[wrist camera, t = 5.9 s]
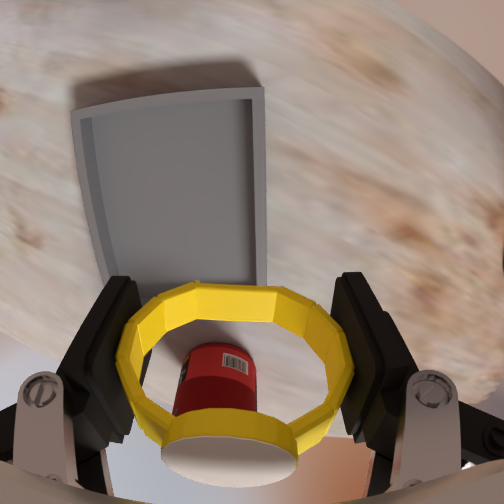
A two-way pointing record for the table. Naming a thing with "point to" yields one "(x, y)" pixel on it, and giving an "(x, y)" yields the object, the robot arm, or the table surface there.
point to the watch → (228, 419)
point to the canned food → (216, 380)
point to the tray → (176, 187)
